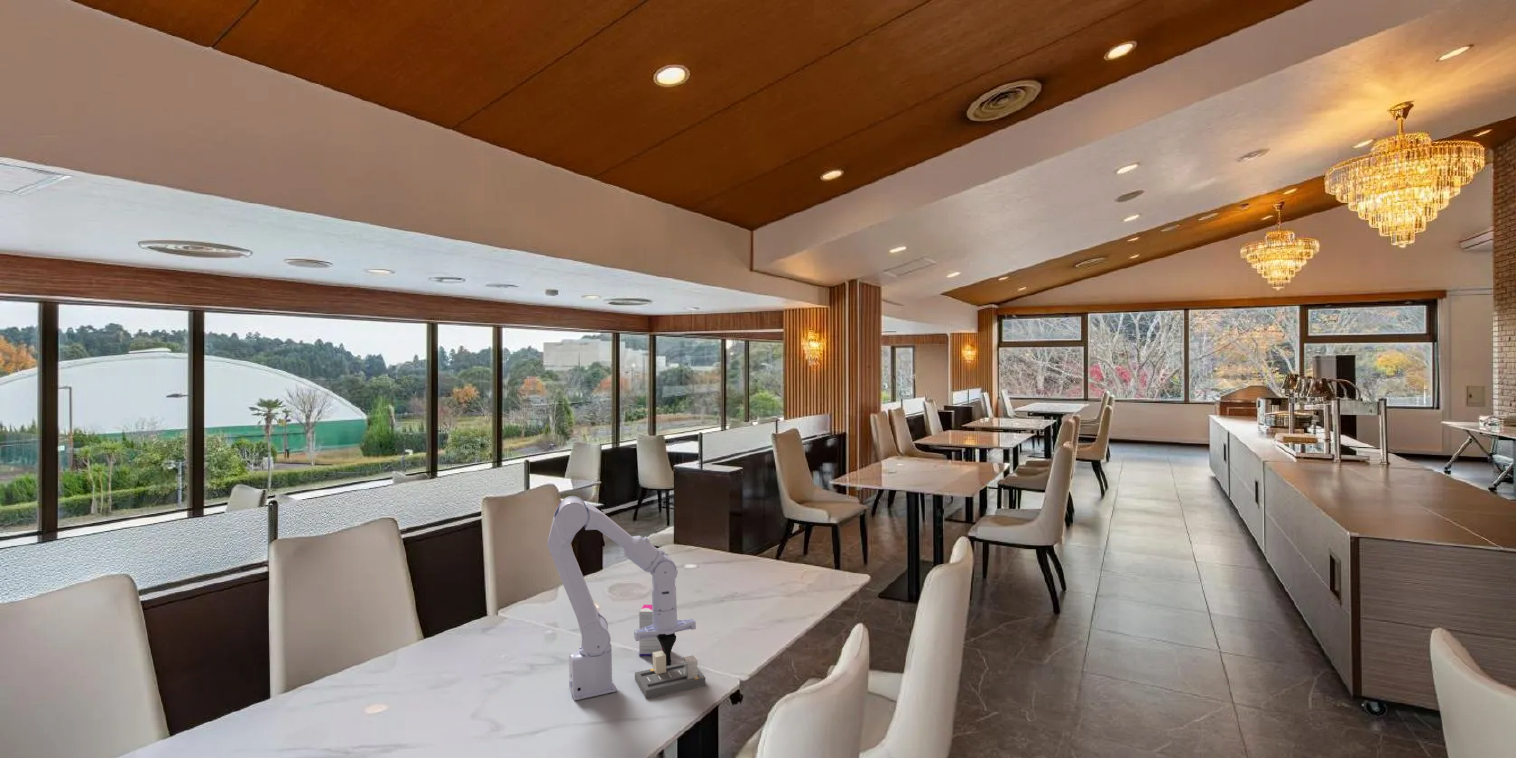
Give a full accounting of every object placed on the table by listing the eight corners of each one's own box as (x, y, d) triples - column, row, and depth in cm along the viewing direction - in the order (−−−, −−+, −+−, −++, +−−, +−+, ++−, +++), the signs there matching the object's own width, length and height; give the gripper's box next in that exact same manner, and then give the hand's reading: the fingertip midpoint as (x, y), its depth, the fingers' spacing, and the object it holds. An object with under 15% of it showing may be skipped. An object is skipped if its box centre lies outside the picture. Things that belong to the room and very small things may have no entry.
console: (645, 698, 144) (645, 690, 144) (635, 680, 153) (634, 672, 153) (705, 685, 150) (705, 676, 150) (691, 668, 159) (691, 660, 159)
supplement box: (661, 656, 166) (660, 611, 167) (638, 656, 167) (637, 611, 167) (665, 647, 172) (664, 603, 172) (643, 647, 172) (642, 604, 172)
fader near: (687, 682, 149) (687, 662, 149) (683, 677, 152) (683, 657, 152) (697, 680, 150) (697, 660, 150) (693, 674, 153) (693, 655, 153)
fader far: (656, 676, 152) (655, 657, 152) (652, 671, 155) (652, 652, 155) (666, 674, 153) (665, 655, 153) (662, 669, 156) (662, 650, 156)
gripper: (638, 618, 148) (640, 678, 148) (699, 606, 154) (701, 664, 154) (631, 608, 154) (633, 665, 154) (689, 597, 160) (691, 653, 160)
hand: (666, 664), depth 155 cm, fingers closed, pressing on fader far
